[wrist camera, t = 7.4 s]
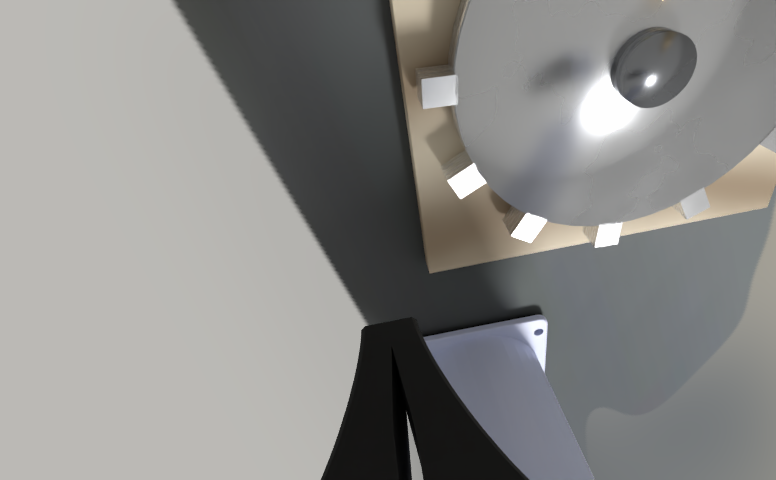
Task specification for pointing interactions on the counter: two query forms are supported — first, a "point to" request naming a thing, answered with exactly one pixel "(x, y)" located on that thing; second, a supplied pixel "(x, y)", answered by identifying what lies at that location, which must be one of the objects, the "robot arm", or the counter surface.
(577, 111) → the sprocket
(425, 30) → the sprocket base
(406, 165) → the counter surface
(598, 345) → the counter surface
